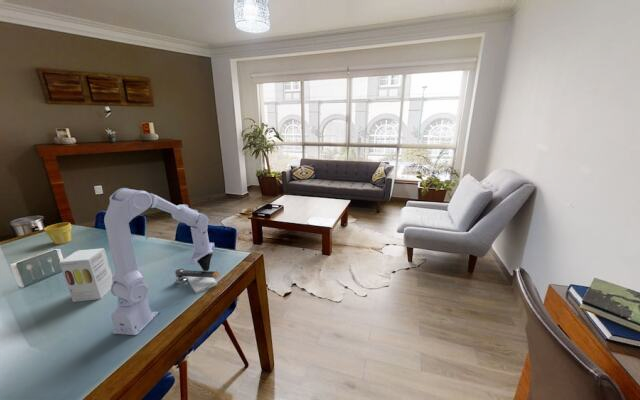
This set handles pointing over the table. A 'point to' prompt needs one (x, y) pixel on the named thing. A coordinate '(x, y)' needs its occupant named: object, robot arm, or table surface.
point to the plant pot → (59, 232)
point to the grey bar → (196, 273)
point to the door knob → (181, 280)
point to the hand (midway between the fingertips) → (206, 270)
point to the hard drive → (201, 283)
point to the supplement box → (87, 274)
